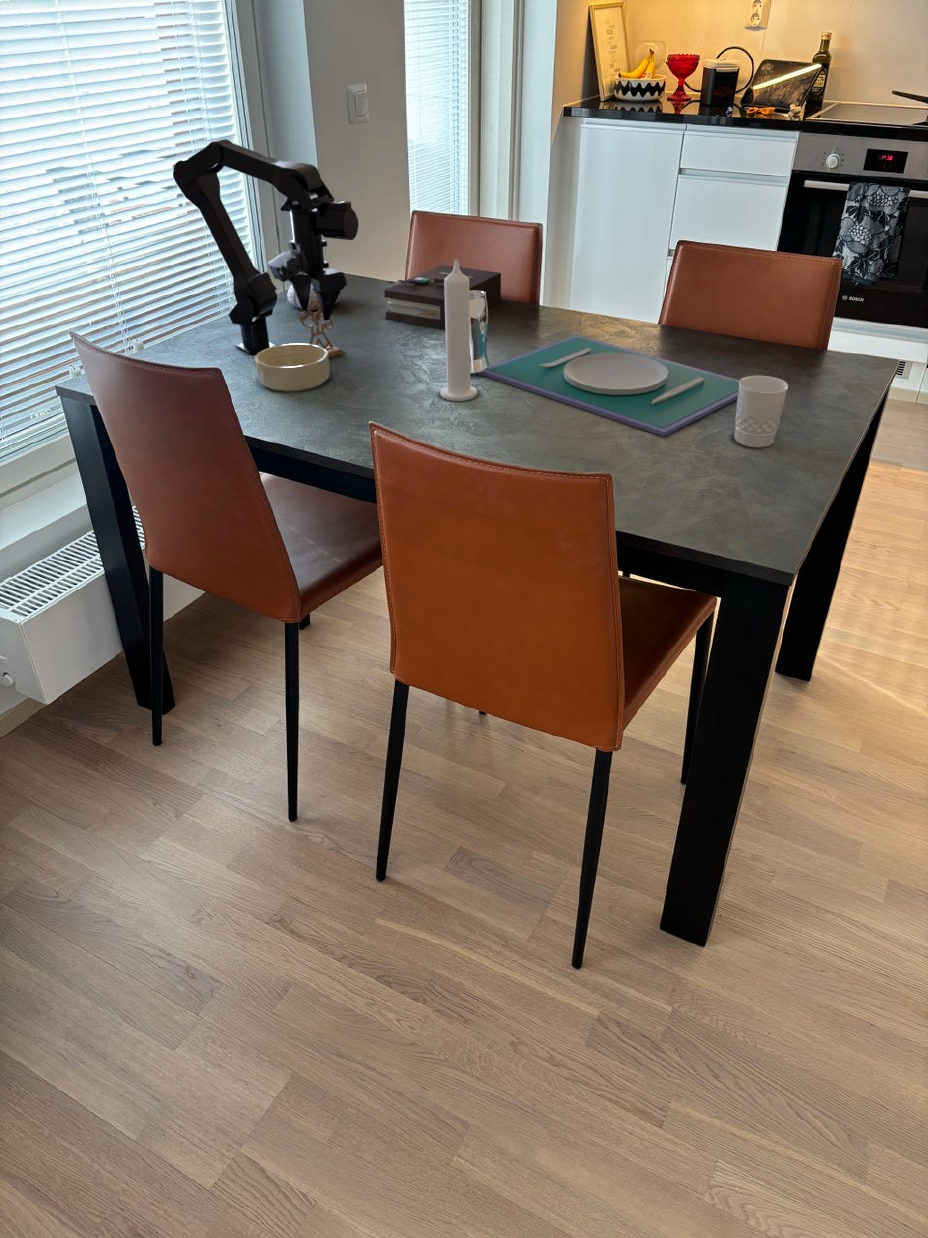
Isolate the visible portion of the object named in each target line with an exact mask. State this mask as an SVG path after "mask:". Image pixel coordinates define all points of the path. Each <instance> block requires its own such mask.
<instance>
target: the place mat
mask: <svg viewBox="0 0 928 1238" xmlns="http://www.w3.org/2000/svg"><path fill="white" fill-rule="evenodd" d="M489 366H490V365H489ZM480 375H482V376H484V377H488V378H490V379H493V380H497V381H499V382H502V383H506V384H508V385H511V386H514V387H517V388H520V389H523V390H526V391H528V392H532V393H534V394H536V395H540V396H544V397H546V398H548V399H552V400H555V401H559V402H561V403H564V404H567V405H570V406H573V407H576V408H578V409H581V410H585V411H587V412H590V413H593V414H597V415H600V416H603V417H605V418H608V419H611V420H614V421H617V422H621V423H623V424H626V425H629V426H632V427H635V428H637V429H641V430H643V431H647V432H649V433H652V434H653V433H654V434H656V435H659V436H662V437H666V436H668V435H670V434H671V433H674V432H676V431H677V430H679V429H681V428H683V427H685V426H687V425H689V424H691V423H693V422H695V421H697V420H700V419H701V418H703V417H705V416H707V415H709V414H711V413H712V412H714V411H717V410H718V409H719V410H720V409H721V408H723V407H724V406H726V405H728V404H731V403H732V402H735V401H737V398H738V389H739V381H740V380H741V379H736V378H732V377H730V376H726V375H722V374H719V373H715V372H711V371H708V370H704V369H700V368H697V367H693V366H690V365H686V364H682V363H679V362H676V361H672V360H668V359H666V358H661V357H658V356H655V355H651V354H647V353H644V352H640V351H636V350H633V349H630V348H625V347H622V346H618V345H615V344H611V343H608V342H604V341H601V340H597V339H593V338H589V337H587V336H582V335H579V334H574V335H571V336H569V337H566V338H563V339H560V340H557V341H555V342H553V343H549V344H547V345H545V346H542V347H539V348H536V349H533V350H531V351H528V352H525V353H523V354H521V355H517V356H515V357H512V358H509V359H506V360H504V361H502V362H498V363H496V364H493V365H491V366H490V369H489V370H488V371H486V372H484V373H481V374H480Z"/></svg>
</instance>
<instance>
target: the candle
mask: <svg viewBox="0 0 928 1238" xmlns="http://www.w3.org/2000/svg"><path fill="white" fill-rule="evenodd" d="M453 266H454V268H453V271H452V273H451V274H449V275H448V276H447V277H446V278H445V279H444V292H445V329H444V331H445V361H446V362H445V363H446V364H445V365H446V366H445V367H446V369H445V370H446V386H443V387H442V388H441V389H440V391H439V392H440V397H441V398H442V399H444V400H448V401H451V402H465V401H469V400H470V401H471V400H472V399H474V398H476V397H477V396H478V390H477V388H476V387H475V386H474V385H473V386H472V385H471V374H470V306H469V278H468V277H467V276H465V275H464V274H463V273H462V272H461V270H460V268H459V267H460V265H459V260H458V259H455V260H454V263H453Z"/></svg>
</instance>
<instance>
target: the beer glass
mask: <svg viewBox="0 0 928 1238" xmlns="http://www.w3.org/2000/svg"><path fill="white" fill-rule="evenodd" d="M469 306H470V375H481V373H484V372H486V371H488V370H489V369H490V362H489V358H488V352H487V347H488V334H489V309H488V307H487V301H486V293H485V292H484V291H477V290H473V291H469Z"/></svg>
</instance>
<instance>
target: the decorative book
mask: <svg viewBox="0 0 928 1238" xmlns="http://www.w3.org/2000/svg"><path fill="white" fill-rule="evenodd" d="M453 268H454V265H448V264H439V265H438V266H436V267H433V268H431V269H429V270H426V271H424V272H422V273H419V274H417V275H415V276H413V277H410V278H408V279H406V280H403V279H399V280H397V281H392V280H389V281H387V282H386V284H391V285H392V286H390V287H387V288H385V289H383V292H384V298H386V299H389V301H386V304H388V305H389V306H390V309H389V310H387V311H385V320H389V321H395V322H401V323H406V324H410V325H411V324H412V325H417V326H422V327H423V326H424V327H428V328H429V327H430V328H434V329H439V330H440V329H441V330H445V292H444V279H445V278H446V277H447V276H448V275H449V274H451V273H452V271H453ZM459 268H460V270H461V272H462V273H463V274H464V275H465V276H467V277H468V278H469V291H473V290H477V291H484V292H485V293H486V301H487V307H488V308H490V307H492V306H494V305H496V304H498V303H500V302H501V301H502V292H501V291H502V272H499V271H492V270H491V271H490V270H484V269H476V268H469V267H461V266H459ZM395 283H397V284H395ZM393 284H394V285H393Z"/></svg>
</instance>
